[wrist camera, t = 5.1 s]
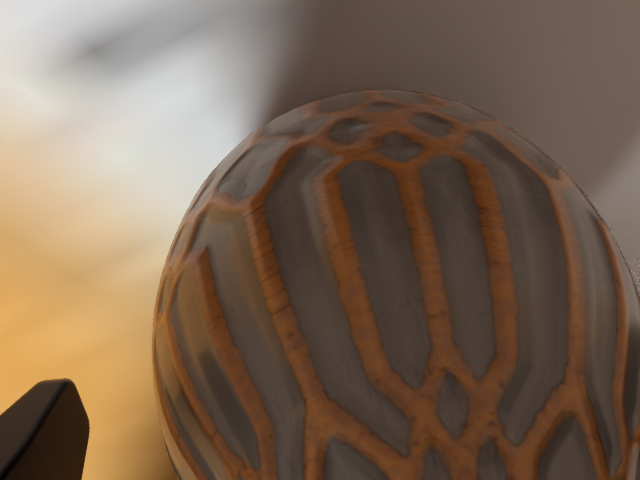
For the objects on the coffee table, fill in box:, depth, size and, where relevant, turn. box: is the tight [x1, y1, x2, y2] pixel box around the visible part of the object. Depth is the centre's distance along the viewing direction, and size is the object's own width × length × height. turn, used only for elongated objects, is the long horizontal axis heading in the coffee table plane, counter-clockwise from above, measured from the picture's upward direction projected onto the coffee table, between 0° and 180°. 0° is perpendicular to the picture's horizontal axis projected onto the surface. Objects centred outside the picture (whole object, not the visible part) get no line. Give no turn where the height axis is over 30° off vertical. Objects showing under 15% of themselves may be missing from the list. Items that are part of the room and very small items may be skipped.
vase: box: [152, 90, 640, 480], centre depth 8 cm, size 7×7×9 cm
